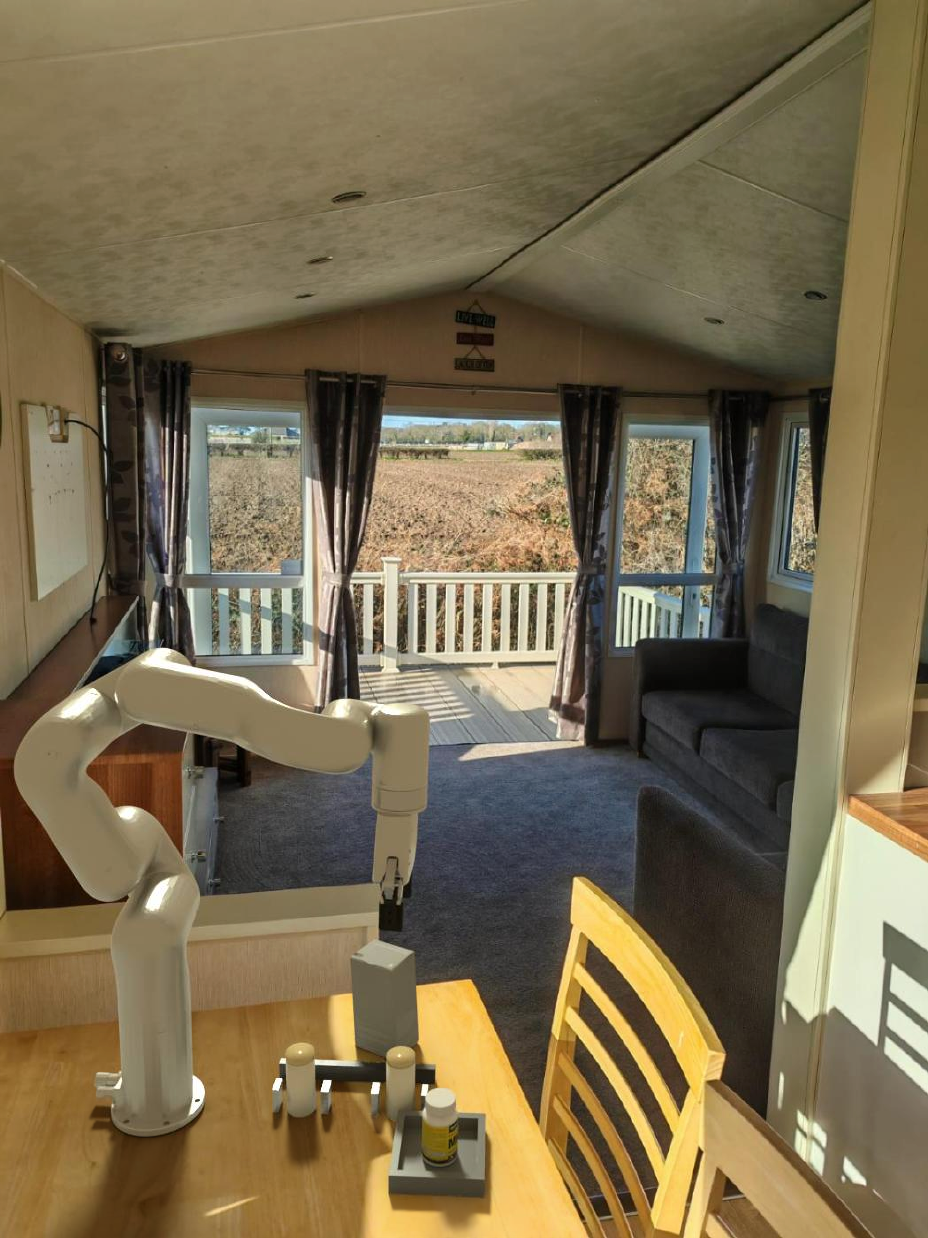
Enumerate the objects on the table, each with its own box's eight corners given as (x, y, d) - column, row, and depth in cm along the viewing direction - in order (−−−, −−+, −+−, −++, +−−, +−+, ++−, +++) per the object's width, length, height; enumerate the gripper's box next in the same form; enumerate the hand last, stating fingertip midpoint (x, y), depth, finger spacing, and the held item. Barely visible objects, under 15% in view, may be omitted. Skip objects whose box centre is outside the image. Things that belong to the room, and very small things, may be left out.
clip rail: (267, 1112, 132) (267, 1089, 132) (281, 1073, 140) (281, 1052, 140) (431, 1118, 132) (432, 1096, 131) (435, 1079, 140) (435, 1058, 139)
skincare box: (419, 1043, 148) (420, 950, 146) (392, 1067, 143) (393, 970, 140) (377, 1025, 153) (377, 934, 150) (348, 1047, 147) (348, 953, 144)
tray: (388, 1193, 118) (388, 1175, 118) (398, 1126, 130) (398, 1110, 129) (484, 1197, 118) (484, 1179, 117) (485, 1130, 130) (485, 1113, 129)
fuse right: (384, 1121, 131) (384, 1063, 129) (387, 1101, 135) (388, 1045, 133) (413, 1122, 131) (414, 1064, 129) (415, 1102, 135) (416, 1046, 133)
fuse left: (285, 1117, 131) (283, 1061, 129) (289, 1097, 135) (287, 1043, 133) (314, 1117, 131) (312, 1061, 130) (317, 1097, 135) (316, 1042, 134)
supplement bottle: (453, 1171, 121) (454, 1112, 120) (417, 1165, 122) (418, 1107, 121) (461, 1145, 126) (461, 1088, 124) (426, 1139, 127) (427, 1083, 125)
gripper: (381, 772, 137) (378, 883, 140) (361, 817, 120) (357, 942, 123) (433, 776, 136) (428, 887, 139) (420, 821, 119) (415, 946, 122)
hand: (395, 913), depth 131 cm, fingers open, 9 cm apart
